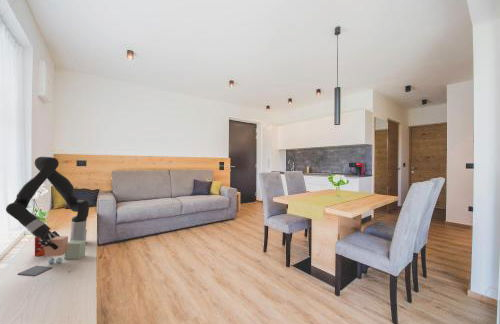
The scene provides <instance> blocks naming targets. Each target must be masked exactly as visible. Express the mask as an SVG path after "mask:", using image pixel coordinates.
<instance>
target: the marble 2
mask: <svg viewBox="0 0 500 324" xmlns="http://www.w3.org/2000/svg"><path fill="white" fill-rule="evenodd" d="M62 261H63V258H62V257H58V258H57V259H56V260H55V262H56V264H61V262H62Z"/></svg>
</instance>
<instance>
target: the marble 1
mask: <svg viewBox="0 0 500 324" xmlns="http://www.w3.org/2000/svg"><path fill="white" fill-rule="evenodd" d="M54 262H56V260H55V258H53V257H52V258H51V257H50V258H49V259H48V261H47V263H48V264H53V263H54Z"/></svg>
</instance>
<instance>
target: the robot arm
mask: <svg viewBox="0 0 500 324" xmlns="http://www.w3.org/2000/svg"><path fill="white" fill-rule="evenodd" d="M59 165H60V164H59V160H58V159H57V158H56V157H52V156H38V157H37V158H35V159H34V166H35V168H36V169H37V170H38V173H37V174H36V175H35V176H34V177H32V178H31V179H30V180H28V181H27V182H26V183H25V184H24V185H23V186H22V187H21V188H20V189H19V192H17V194H16V198H15V200H14V202H11V203H9V204H8V205H7V206H6V207H5V211H6V213H7V214H8V215H9V216H11V217H13V219H15V220H17V221H18V222H19V223H20V224H21V225H22V226H23V227H24V228H25V229H26V230H27V231H28V232H29V233H31V234H32V235H33V236H35V237H37V238H39V237H40V239H39V240H38V241H39V242H40V243H42V244H43V245H44V246H46V247H47V246H51V247H52V248H53V249H54V250H56V249H57V248H58V246H57V245H56V244H54V243H53V242H52V241H51V240H52V238H54V237H57V236H61V235H60V234H58V232H57V231H55V230H54V231H51V227H50V226H49V225H48V224H46V223H45V222H43V220H41V219H39V218H38V217H37V216H36V215H34V214H33V213H32V212H30V211H29V210H28V209H27V208H28V205H29V204H30V202H31V200H32V199H33V198H34V196H35V194H36V193H37V191H38V190H39V188H40V187H41V186H42V185H43V184H44V183H45V181H46V180H48V181H49V183H50V184H51V185H52V186H53V188H54V189H55V190H56V191H57V193H58V194H59V195H60V196H61V197H62V198H63V200H64V201H65V203H66V205H67V206H68V207H69V209H70V210H71V211H72V212H74V213H75V212H76V216H73V217H72V218H71V227H70V237H69V239H70V240H69V242H70V241H86V242H87V231H88V229H87V221H88V220H87V219H88V217H89V211H90V210H89V209H90V202H89V201H88V200H85V199H84V200H83V199H79V198H78V197H77V196H76V195H75V194H74V193H75V188H74V185H73V183H71V181H70V180H69V179H68V178H67V177H65V176H64V174H61V173H60V172H59V171H57V168H58V167H59ZM35 237H34V238H35ZM50 242H51V243H50ZM45 243H46V244H45Z"/></svg>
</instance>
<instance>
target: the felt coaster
mask: <svg viewBox="0 0 500 324" xmlns="http://www.w3.org/2000/svg"><path fill="white" fill-rule="evenodd" d="M52 268H53V266H44V265H35V266H32V267H30V268H28V269H25V270H22V271H20V272H18V273H17V275H20V276H31V277H36V276H38V275H41V274H43V273H44V272H47V271H49V270H51V269H52Z"/></svg>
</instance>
